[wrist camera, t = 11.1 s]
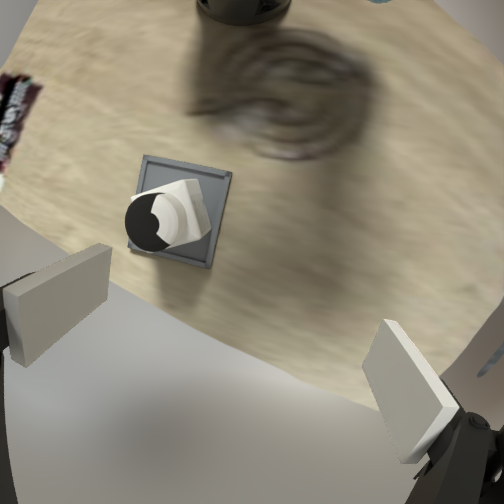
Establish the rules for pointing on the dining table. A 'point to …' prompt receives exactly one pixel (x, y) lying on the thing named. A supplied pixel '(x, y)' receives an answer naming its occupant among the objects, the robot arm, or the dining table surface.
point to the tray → (214, 195)
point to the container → (167, 216)
